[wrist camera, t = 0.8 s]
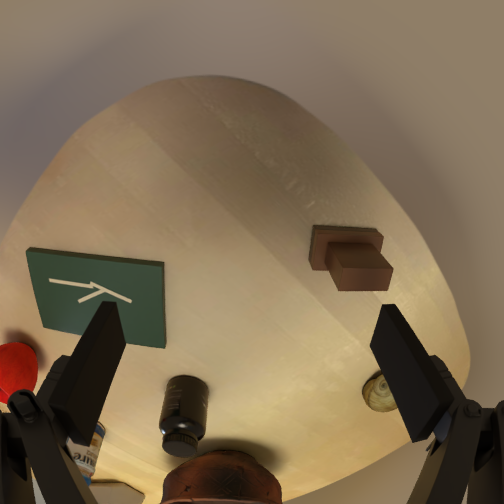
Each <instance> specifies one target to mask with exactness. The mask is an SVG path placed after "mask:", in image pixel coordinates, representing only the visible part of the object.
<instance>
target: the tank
mask: <svg viewBox="0 0 504 504" xmlns="http://www.w3.org/2000/svg"><path fill="white" fill-rule="evenodd" d="M89 488H90V490H91V492H92V494H93V496H94V497H95V499H96V501H97V502H98V504H142V502H143V500H144V499H145V495H143V494H142V493H140V492H138V491H136V490H134V489H133V488H131V487H129V486H127V485H126V484H124V483H91V484H90V485H89Z"/></svg>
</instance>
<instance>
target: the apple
mask: <svg viewBox="0 0 504 504" xmlns="http://www.w3.org/2000/svg"><path fill="white" fill-rule="evenodd" d="M37 376H38V364H37V358H36V354H35V352H34V351H33V350H32V348H30V347H29V346H28V345H26V344H24V343H19V342H13V343H8V344H3V345H0V402H2V403H5V404H7V401H8V399H9V397H10V396H11V395H12V393H14V392H15V391H17V390H21V389H27V390H30V391H32V392H33V390H34V388H35V385H36V382H37Z"/></svg>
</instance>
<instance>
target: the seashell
mask: <svg viewBox="0 0 504 504" xmlns="http://www.w3.org/2000/svg"><path fill="white" fill-rule="evenodd" d="M362 392H363V393H362V394H363V398H364V400H365V402H366V404H367V405H368V406H369V407H370V408H371V409H372V410H375V411H378V412H389V411H392V410H395V409H397V408H398V407H397V405H396V402H395V400H394V398H393V396H392V393H391V391H390V389H389V387H388V384H387V382H386V380H385V378H384V376H383V374H382V375H380V376H379V377H378V378H377V379H373V380H370V381H369V382H368V383H367V384H366V385H365V387H364V388H363V391H362Z"/></svg>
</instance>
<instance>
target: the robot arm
mask: <svg viewBox="0 0 504 504" xmlns="http://www.w3.org/2000/svg"><path fill="white" fill-rule="evenodd" d="M125 346H126V341H125V337H124V333H123V329H122V325H121V321H120V316H119V312H118V307H117V302H113V301H102V302H101V304H100V306H99V307H98V309H97V311H96V313H95V314H94V316H93V318H92V319H91V321H90V323H89V325H88V326H87V328H86V330H85V332H84V333H83V335H82V337H81V339H80V340H79V342H78V344H77V346H76V348H75V349H74V351H73V353H72V355H71V356H66V355H62V356H61V357H59V358H58V359H57V360H56V361H55V362H54V363H53V365H52V367H51V369H50V372H48V374H47V376H46V379H45V380H44V382H43V384H42V385H41V387H40V389H39V391H38V393H37V395H36V396H35V395H34V393H33V392H32V391H30V390H27V389H21V390H17V391H15V392H14V393H12V395H11V396H10V397H9V399H8V401H7V407H8V409H9V410H10V412H11V413H2V412H1V410H0V504H36V502H35V496H34V490H33V482H32V474H31V468H32V470H33V473H34V476H35V478H36V481H37V483H38V486H39V488H40V490H41V493H42V495H43V498H44V500H45V502H46V504H98V502H97V501H96V499H95V497H94V496H93V494H92V492H91V490H90V488H89V487H88V485H87V483H86V481H85V479H84V477H83V476H82V474H81V472H80V470H79V468H78V466H77V464H76V462H75V460H74V458H73V456H72V454H71V451H70V449H69V447H68V445H67V444H66V441H67V439H68V436H69V438H70V439H71V441H72V442H73V443H74V444H78V445H82V446H87V447H90V444H91V441H92V438H93V435H94V432H95V429H96V426H97V423H98V420H99V417H100V414H101V411H102V408H103V405H104V402H105V400H106V397H107V394H108V391H109V388H110V386H111V383H112V380H113V378H114V375H115V372H116V370H117V367H118V364H119V362H120V359H121V357H122V354H123V351H124V349H125ZM370 348H371V350H372V352H373V354H374V356H375V358H376V360H377V363H378V365H379V367H380V369H381V371H382V373H383V376H384V378H385V380H386V382H387V384H388V387H389V389H390V391H391V393H392V396H393V398H394V400H395V402H396V405H397V407H398V409H399V412H400V414H401V416H402V419H403V421H404V423H405V426H406V428H407V431H408V433H409V435H410V438H411V440H412V443H414V442H418V441H422V440H426V439H428V437H429V436H430V435H431V433H432V432H434V434H435V439H434V440H433V441H432V442H431V444H430V445H429V446H428V448H427V449H426V451H428V450H429V449H430V451H429V453H428V456H427V458H426V461H425V463H424V466H423V468H422V470H421V473H420V475H419V478H418V480H417V482H416V484H415V487H414V489H413V491H412V493H411V495H410V498H409V500H408V502H407V504H461V503H462V500H463V497H464V494H465V491H466V488H467V485H468V494H467V504H504V400H503V401H501V402H499V403H498V405H497V406H496V407H495V408H482V407H481V406H480V405H479V404H478V403H477V402H475V401H474V400H469V399H466V397H465V396H464V394H463V392H462V391H461V389H460V387H459V386H458V384H457V382H456V381H455V379H454V378H453V377H452V374H451V373H450V371H448V368H447V366H446V365H445V363H444V362H443V361H442V360H441V359H440V358H438V357H437V356H436V355H433V356H429V355H428V353H427V352H426V350H425V348H424V347H423V345H422V344H421V342H420V341H419V339H418V338H417V336H416V335H415V333H414V331H413V330H412V328H411V327H410V325H409V324H408V322H407V321H406V319H405V318H404V316H403V315H402V313H401V312H400V310H399V309H398V308H397V306H396V305H395V304H382V307H381V310H380V314H379V317H378V320H377V324H376V327H375V330H374V334H373V337H372V340H371V343H370Z"/></svg>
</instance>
